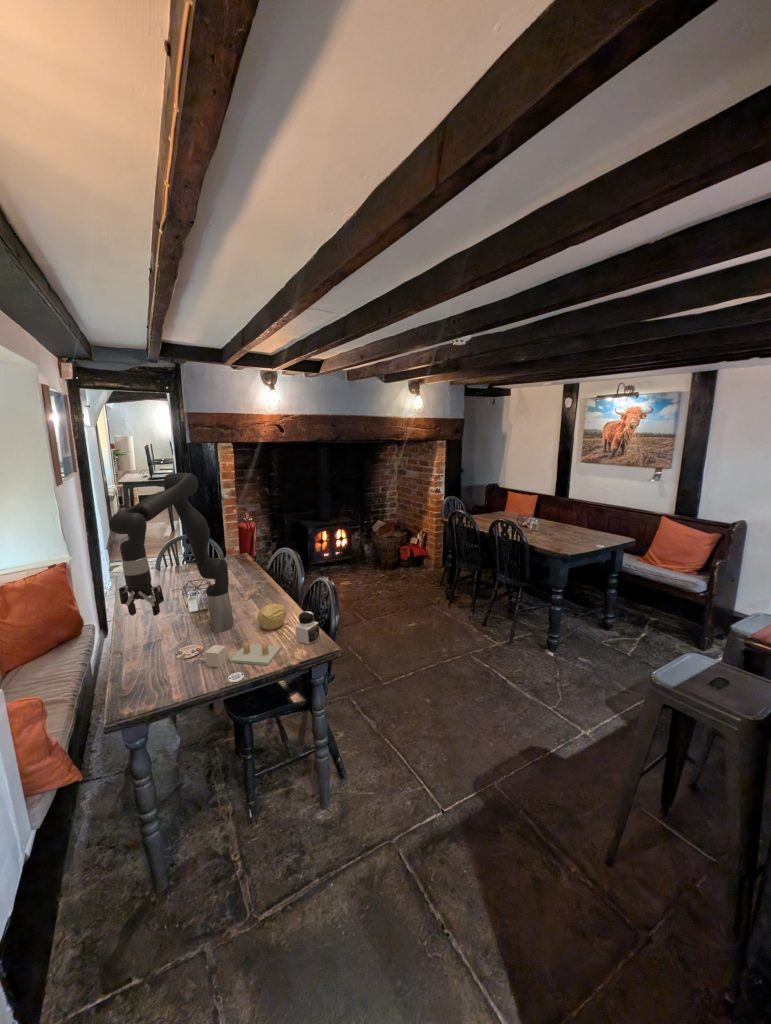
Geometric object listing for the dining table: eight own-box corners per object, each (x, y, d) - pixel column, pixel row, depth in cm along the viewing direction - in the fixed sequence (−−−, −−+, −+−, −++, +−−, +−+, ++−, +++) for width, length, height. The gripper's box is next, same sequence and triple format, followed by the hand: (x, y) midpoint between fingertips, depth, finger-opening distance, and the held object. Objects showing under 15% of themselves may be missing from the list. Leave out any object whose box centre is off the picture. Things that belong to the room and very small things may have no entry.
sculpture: (270, 635, 183) (268, 612, 180) (254, 628, 190) (251, 606, 188) (290, 624, 192) (288, 603, 189) (274, 618, 199) (272, 597, 196)
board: (246, 646, 174) (244, 635, 173) (281, 649, 171) (280, 637, 170) (230, 662, 163) (228, 650, 162) (268, 665, 159) (266, 653, 158)
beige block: (215, 658, 166) (213, 645, 165) (227, 659, 165) (225, 646, 163) (207, 666, 161) (205, 652, 159) (219, 667, 160) (217, 653, 158)
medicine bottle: (309, 645, 173) (307, 618, 171) (296, 641, 177) (293, 615, 174) (320, 637, 179) (317, 611, 177) (307, 633, 183) (304, 608, 180)
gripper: (163, 566, 143) (170, 609, 147) (124, 566, 145) (133, 609, 148) (149, 574, 136) (157, 619, 140) (109, 574, 138) (118, 619, 141)
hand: (144, 614), depth 144 cm, fingers open, 8 cm apart
